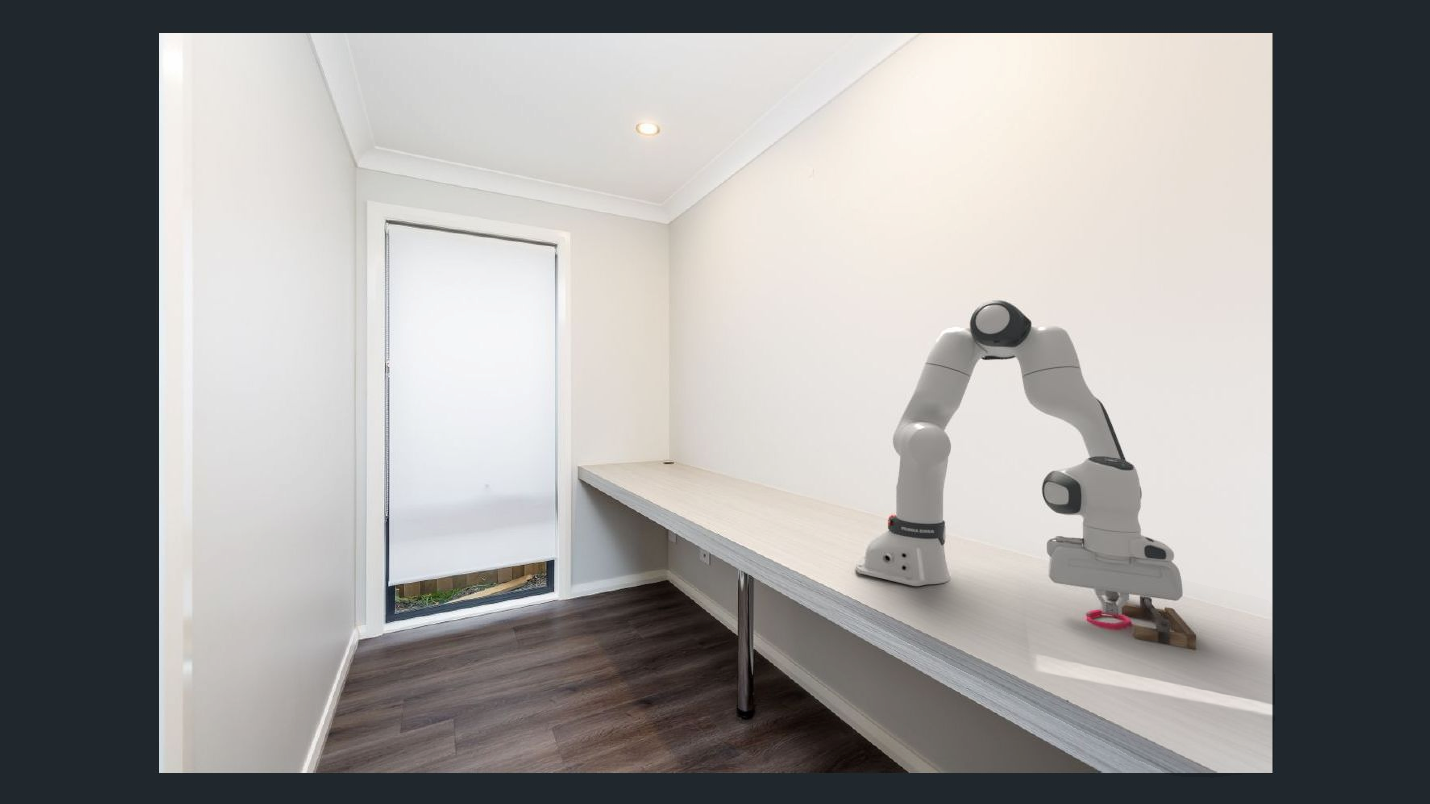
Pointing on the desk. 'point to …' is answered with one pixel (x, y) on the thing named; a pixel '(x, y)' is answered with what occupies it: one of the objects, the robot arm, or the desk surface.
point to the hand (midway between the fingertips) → (1111, 613)
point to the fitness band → (1115, 626)
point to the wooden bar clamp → (1160, 625)
